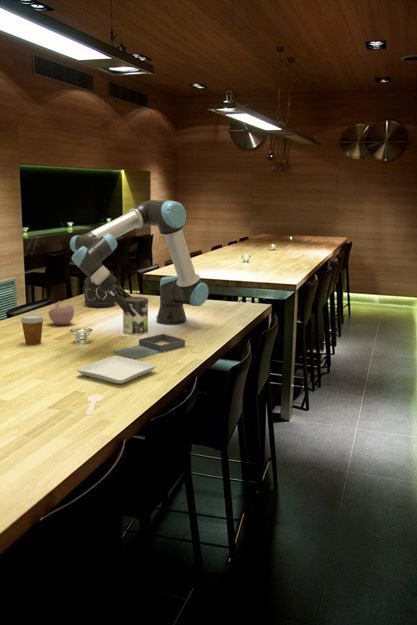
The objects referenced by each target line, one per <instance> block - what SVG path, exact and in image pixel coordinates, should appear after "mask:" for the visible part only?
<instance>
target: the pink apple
mask: <svg viewBox="0 0 417 625" xmlns="http://www.w3.org/2000/svg"><path fill="white" fill-rule="evenodd" d="M59 304H61V301H60V300H58V302H56V303H55V307H53V308H51V309H50V310H48V316H49V319H50V320H51V322H53V324H56V325H58V326H65V325H68V324H70V322H72V320H73V318H74V315H75V310H74V307H73V305H72V304H62V305H60V306H59Z"/></svg>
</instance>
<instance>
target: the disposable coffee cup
mask: <svg viewBox="0 0 417 625" xmlns="http://www.w3.org/2000/svg"><path fill="white" fill-rule="evenodd" d="M44 319H45V318H44V316H43V315H42V314H37V313H33V314H31V313H29V314H24V315H22V316H21V318H20V321H21V325H22V331H23V336H24V340H25V345H26V346H38V345H40V344H41V343H42V336H43V335H42V332H43V322H44Z"/></svg>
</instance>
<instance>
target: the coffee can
mask: <svg viewBox="0 0 417 625" xmlns="http://www.w3.org/2000/svg"><path fill="white" fill-rule="evenodd" d="M124 299H125V300H126V302H127V303H128V304H129V306H130V307H131V308H133V309H134V310H135V311H136V312H137V313H138V314H139V315H140V316H141V317H142V318H143V320H142V321H141V322H140V323H139V324H138V323H137V322H136V321H135V320H134V319H133V318H132V317H131V316H130V315H129V314H128V313H126V314H125V313H124V311H123V310H122V322H123V323H122V326H123V330H122V333H123V334H124V335H126V336H143V335H147V334H148V333H149V328H148V327H149V318H148V317H149V298H148V297H143V296H132V297H126V298H124Z"/></svg>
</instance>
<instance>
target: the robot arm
mask: <svg viewBox="0 0 417 625" xmlns="http://www.w3.org/2000/svg"><path fill="white" fill-rule="evenodd" d="M186 218H187V213H186V209H185V206H184V205H183V204H181V203H180V202H178V201H174V200H159V199H157V200H156V199H155V200H154V199H152V200H147V201H145V202H142V203H140V204H138V205H136V206H133V207H132V208H130V209H129V210H128V211H127V213H124V214H123V215H121V216H119V217H117V218H115V219H113V220H111V221H109V222H106V223H105V224H103V225H100V226H99V227H96V228H95V229H92V230H91V231H89V232H87V233H85V234H82V235H80V234H79V235H74V236H72V237H71V239H70V242H69V247H70V249H71V252H74V253H73V255H72V256H71V261H73V264H75V265H76V266H77V268H79V269H80V270H81V271H82V272H83V273H84V274H85V275H86V276H87V277H89V278H90V279H91V282H94V283H95V284H96V285H99V288H100V289H101V290H102V291H103V292H106V291H107V290H109V292H110V293H109V295H110V296H111V297H112V298H113V299H114V300H115V303H116V304H117V305H118V306H119V308H120V309H121V310H122V312H123V311H124V313H125V314H126V313H128V314H129V315H130V316H131V317H132V318H133V319H134V320H135V321H136V322H137V323H138V324H139V323H140V322H141V321H142V320H143V318H142V317H141V316H140V315H139V314H138V313H137V312H136V311H135V310H134V309H133V308H131V307H130V306H129V304H128V303H127V302H126V300H125V299H124V298H126V297H133V296H132V295H131V294H130V293H128V292H127V291H126V290H125V289H124V288H123V287H121V285H120V284H116V283H117V282H118V281H117V280H118V279H117V277H115V275H113V274H112V273H110V272H111V271H109V269H108V268H107V267H106V266H104V264H103V263H102V262H103V261H104V260H105V259H106V258H107V257H108V256H110V255H111V254H112V253H113V252H114V251H115V249H116V248H117V247H118V242H117V238H119V237H121V236H122V235H125V234H126V233H128V232H130V231H132V230H134V229H141V228H143V227H148V226H151V227H152V226H154V227H157V228H158V231H159V234H160V235H162V236H164V238H165V242H166V245H167V248H168V251H169V254H170V257H171V261H172V264H173V266H174V270H175V274H176V275H171V276H170V275H169V276H164V277H162V278H160V282H159V283H160V284H159V308H158V313H157V316H156V323H158V324H161V325H169V326H170V325H173V326H174V325H181V324H185V323H186V322H187V315H186V312H185V309H184V305H188V306H192V307H194V306H195V307H200V306H202V305H203V304H205V302H206V301H207V299H208V297H209V286H208V284H206V283H205V282H202V279H201V277H200V275H199V274H197V273H196V272H195V268H194V264H193V261H192V258H191V254H190V252H189V248H188V245H187V241H186V238H185V235H184V232H183V229H184V228H185V223H186V220H187V219H186ZM114 283H115V284H114Z"/></svg>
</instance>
